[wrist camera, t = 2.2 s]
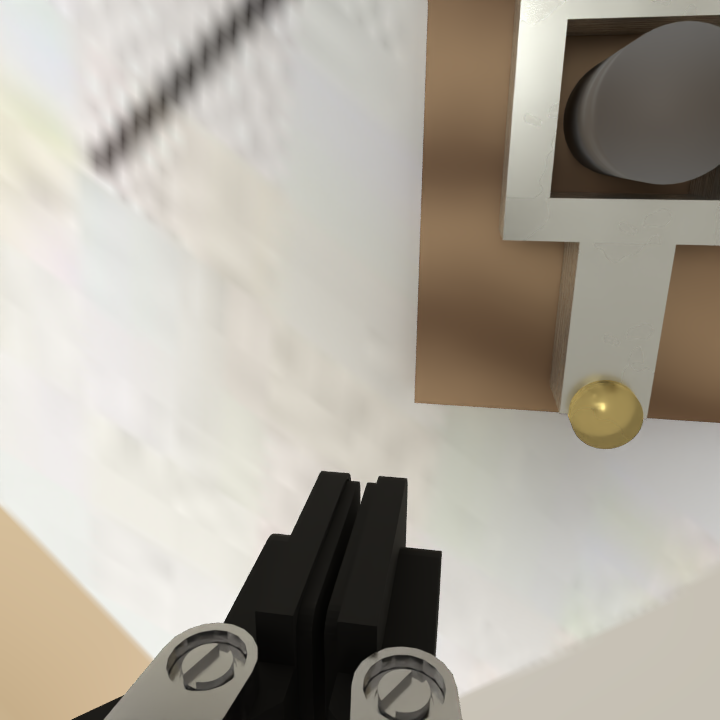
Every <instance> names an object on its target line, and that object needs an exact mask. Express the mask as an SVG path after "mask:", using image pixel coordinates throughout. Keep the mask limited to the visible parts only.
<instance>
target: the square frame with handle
mask: <svg viewBox="0 0 720 720" xmlns="http://www.w3.org/2000/svg"><path fill="white" fill-rule="evenodd" d="M683 21H699V22H705V23H710V24H713V25H715V26H718V27H720V0H516V2H515V15H514V29H513V42H512V55H511V69H510V82H509V96H508V109H507V122H506V136H505V149H504V163H503V176H502V189H501V203H500V216H499V232H500V234H501V237H502V240H517V241H557V242H565V246H564V255H563V265H562V274H561V283H560V292H559V301H558V310H557V319H556V328H555V337H554V346H553V355H552V365H551V374H550V383H549V385H550V387H551V390H552V393H553V396H554V399H555V402H556V405H557V408H558V410H559V413H560V414H568V417H569V420H570V422H571V425H572V428H573V430H574V432H575V434H576V435H577V437H578V438H579V439H580V440H581V441H583V442H584V443H585V444H587V445H589V446H592V447H595V448H600V449H612V448H616V447H619V446H622V445H624V444H626V443H628V442H629V441H631V440H632V439H633V438H634V437H635V436H636V435H637V433H638V432H639V430H640V429H641V426H642V423H643V419H647V414H648V408H649V402H650V396H651V390H652V385H653V379H654V373H655V367H656V361H657V355H658V349H659V343H660V337H661V331H662V325H663V319H664V313H665V307H666V301H667V295H668V290H669V284H670V278H671V272H672V266H673V260H674V254H675V248H676V244H677V245H717V246H720V164H719V165H718V166H717V167H715V168H714V169H712V170H711V171H709V172H707V173H706V174H704V175H702V176H699V177H697V178H695V179H692V180H691V185H690V190H689V194H654V193H577V192H550V191H551V181H552V171H553V161H554V151H555V141H556V131H557V121H558V111H559V101H560V91H561V81H562V71H563V61H564V51H565V40H566V36H580V35H621V34H645V33H647V32H649V31H651V30H653V29H655V28H658V27H661V26H663V25H666V24H671V23H675V22H683Z"/></svg>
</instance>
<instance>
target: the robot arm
mask: <svg viewBox="0 0 720 720" xmlns="http://www.w3.org/2000/svg"><path fill="white" fill-rule="evenodd" d="M407 486H408V483H407V478H396V477H385V476H379V477H378V480H377V483H367V485H366V488H365V491H364V495H363V498H362V501H361V504H360V482H357V481H351V477H350V474H349V473H339V472H327V471H321V473H320V474H319V476H318V479H317V481H316V483H315V485H314V487H313V489H312V491H311V493H310V495H309V498H308V500H307V502H306V504H305V506H304V508H303V510H302V512H301V514H300V517H299V519H298V521H297V523H296V525H295V527H294V529H293V531H292V533H291V535H283V534H272V535H270V537H269V538H268V540H267V542H266V544H265V545H264V547H263V549H262V551H261V553H260V555H259V557H258V559H257V561H256V563H255V564H254V566H253V568H252V570H251V572H250V574H249V576H248V578H247V580H246V581H245V583H244V585H243V587H242V589H241V591H240V593H239V595H238V597H237V599H236V600H235V602H234V604H233V606H232V608H231V610H230V612H229V614H228V616H227V617H226V619H225V621H224V623H210V624H203V625H200V626H196V627H193V628H190V629H188V630H186V631H184V632H183V633H181V634H179V635H177V636H176V637H174V638H173V639H172V640H171V641H170V642H169V643H168V644H167V645H166V646H165V647H164V648H163V649H162V650H161V652H160V653H159V654H158V655H157V656H156V658H155V659H154V660H153V661H152V662H151V664H150V665H149V666H148V667H147V668H146V670H145V671H144V672H143V673H142V674H141V676H140V677H139V678H138V679H137V680H136V682H135V683H134V684H133V685H132V686H131V688H130V689H129V690H128V691H127V692H126V694H125V695H123V696H121V697H119V698H117V699H115V700H113V701H110V702H108V703H106V704H104V705H102V706H100V707H98V708H95V709H93V710H91V711H89V712H87V713H85V714H83V715H80V716H78V717H76V718H74V719H72V720H462V715H461V709H460V702H459V696H458V690H457V686H456V683H455V680H454V677H453V674H452V673H451V672H450V670H449V669H448V668H447V667H446V665H445V664H444V663H443V662H442V661H440V660H439V659H437V658H436V657H435V656H436V642H437V627H438V611H439V594H440V576H441V557H442V551H435V550H426V549H416V548H407V547H406V519H407Z"/></svg>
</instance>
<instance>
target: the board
mask: <svg viewBox="0 0 720 720" xmlns="http://www.w3.org/2000/svg"><path fill="white" fill-rule="evenodd" d="M515 2H516V0H428V21H427V51H426V80H425V110H424V139H423V169H422V198H421V228H420V257H419V287H418V316H417V346H416V375H415V403H427V404H442V405H458V406H473V407H488V408H503V409H518V410H534V411H549V412H559V410H558V408H557V405H556V402H555V399H554V396H553V393H552V390H551V387H550V385H549V383H550V374H551V365H552V355H553V346H554V337H555V328H556V319H557V310H558V301H559V292H560V283H561V274H562V265H563V255H564V246H565V242H557V241H517V240H502V237H501V234H500V232H499V216H500V203H501V189H502V176H503V163H504V149H505V136H506V122H507V109H508V96H509V82H510V69H511V55H512V42H513V29H514V15H515ZM719 164H720V27H718V26H715V25H713V24H710V23H705V22H699V21H683V22H675V23H671V24H666V25H663V26H661V27H658V28H655V29H653V30H651V31H649V32H647V33H645V34H621V35H580V36H566V40H565V51H564V61H563V71H562V81H561V91H560V101H559V111H558V121H557V131H556V141H555V151H554V161H553V171H552V181H551V191H550V192H577V193H654V194H689V190H690V185H691V180H692V179H695V178H697V177H699V176H702V175H704V174H706V173H707V172H709V171H711V170H712V169H714V168H715V167H717V166H718V165H719ZM647 418H655V419H670V420H685V421H700V422H716V423H720V246H717V245H677V244H676V248H675V254H674V260H673V266H672V272H671V278H670V284H669V290H668V295H667V301H666V307H665V313H664V319H663V325H662V331H661V337H660V343H659V349H658V355H657V361H656V367H655V373H654V379H653V385H652V390H651V396H650V402H649V408H648V414H647Z"/></svg>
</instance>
